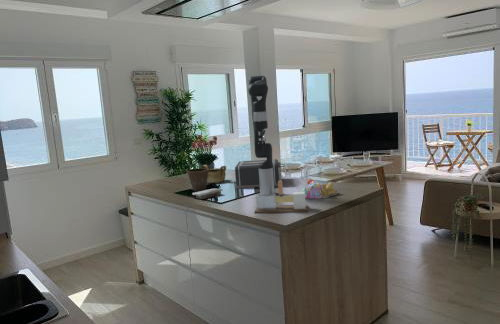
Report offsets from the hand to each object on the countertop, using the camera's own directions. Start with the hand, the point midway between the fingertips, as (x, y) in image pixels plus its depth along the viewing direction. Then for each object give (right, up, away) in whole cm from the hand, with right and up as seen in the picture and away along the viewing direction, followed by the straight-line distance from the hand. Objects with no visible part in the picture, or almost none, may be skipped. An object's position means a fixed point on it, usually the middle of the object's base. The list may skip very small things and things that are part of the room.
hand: (262, 149), depth 220 cm
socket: (+20, -32, -4) cm, 38 cm away
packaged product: (-32, -28, +39) cm, 58 cm away
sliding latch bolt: (+12, -28, -3) cm, 31 cm away
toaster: (+2, -24, +76) cm, 80 cm away
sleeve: (+2, -32, -1) cm, 33 cm away
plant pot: (-43, -29, +66) cm, 84 cm away
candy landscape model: (+35, -28, +29) cm, 54 cm away
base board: (+10, -33, -2) cm, 35 cm away
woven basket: (-34, -24, +94) cm, 103 cm away
